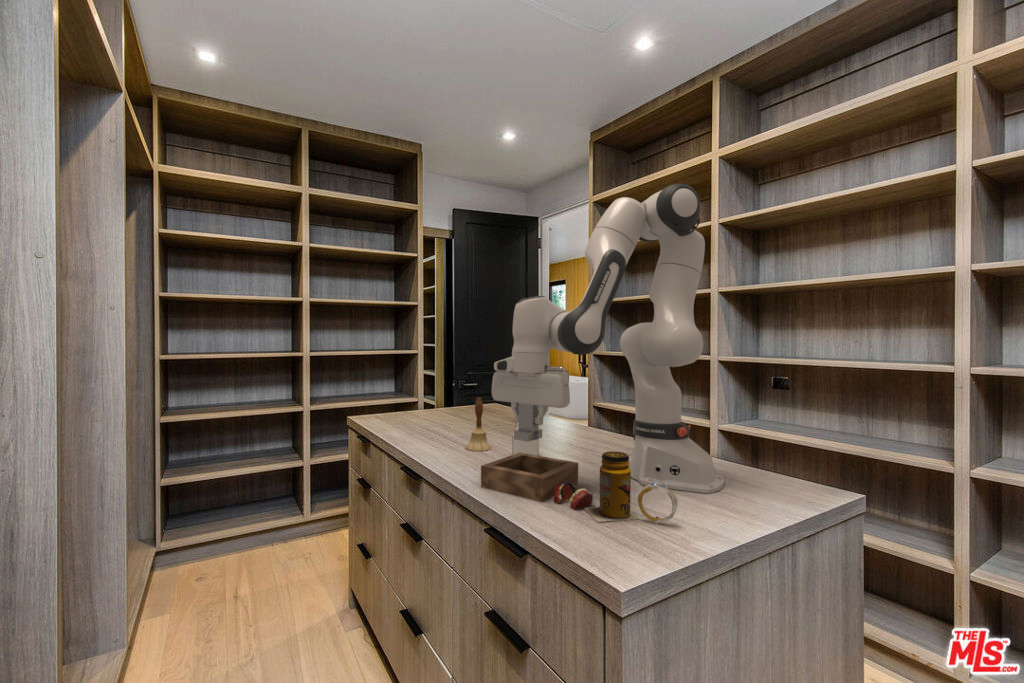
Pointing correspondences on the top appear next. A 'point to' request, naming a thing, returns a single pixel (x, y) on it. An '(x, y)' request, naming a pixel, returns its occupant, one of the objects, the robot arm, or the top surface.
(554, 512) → the top surface
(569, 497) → the dentures model
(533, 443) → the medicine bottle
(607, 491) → the condiment
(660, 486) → the bracelet
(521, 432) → the stepped grey peg
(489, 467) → the open wooden box
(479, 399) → the hand bell
